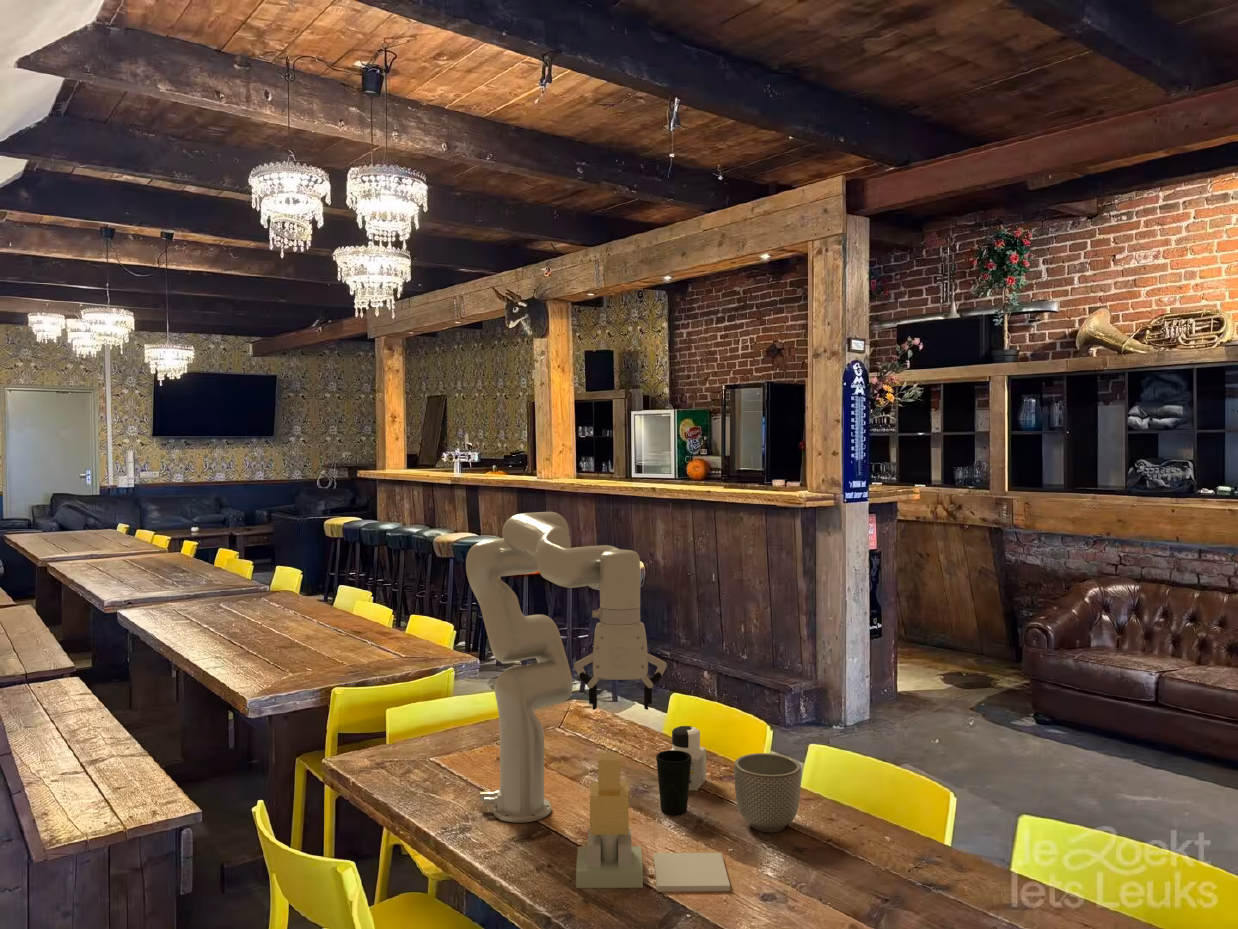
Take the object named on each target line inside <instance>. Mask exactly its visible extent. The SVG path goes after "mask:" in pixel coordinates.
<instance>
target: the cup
mask: <svg viewBox="0 0 1238 929" xmlns="http://www.w3.org/2000/svg"><path fill="white" fill-rule="evenodd" d="M655 758H656V768H657V769H656V770H657V779H658V792H659V801H660V811H662V812H663V813H664V814H663V813H662V812H661V813H662V814H663V815H665V814H666V815H665V816H669V815H670V816H671V817H680V816H683V814H684V815H685V814H686V813H687V812H688V801H689V791H690V790H689V780H690V769H691V758H692V757H691V755H690V754H689V753H687V752H684V751H678V750H671V749H669V750H663V751H660V752H658V753H657V754H656V757H655ZM686 811H687V812H686ZM679 815H680V816H679Z"/></svg>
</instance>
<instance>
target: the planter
mask: <svg viewBox="0 0 1238 929" xmlns="http://www.w3.org/2000/svg"><path fill="white" fill-rule="evenodd" d="M733 774H734V789H735V800H736V805H737V808H738V812H739V814H740V815H741V817H742V818H743V819H744V820H745V821H747V822H748V823H749V825H750V826H751V827H752V828H753V830H756V831H758V832H762V833H777V832H781V831H782V830H783V829H784V828H785V827H786V825H788V824H790V823H791V822H792V821H793V820H794V819H796V816H797V814H798V811H799V805H800V796H801V785H802V766H801V764H800V762H798V761H797V760H796V759H794V758H792V757H790V756H786V755H782V754H778V753H768V752H767V753H766V752H762V753H761V752H759V753H758V752H757V753H750V754H745V755H741V756H739V757H738V758H737V759H736V760H735V761H734V766H733Z"/></svg>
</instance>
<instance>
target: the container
mask: <svg viewBox="0 0 1238 929" xmlns="http://www.w3.org/2000/svg"><path fill="white" fill-rule="evenodd" d="M671 737H672V738H671V747H672V748H670V750H678V751H684V752H687V753H689V754H690V755H691V757H692V758H691V769H690V780H689V791H694V792H695V791H698V790H699V788H700V787H701V786H702V785H703V784H704V782H705V781H707V748H706V747H702V746H701V732H700V730H699V729H698V728H696V727H694V726H692V725H691V726H690V725H680V726H676V727H674V729H673V730H672V731H671Z"/></svg>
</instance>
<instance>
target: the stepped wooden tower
mask: <svg viewBox="0 0 1238 929" xmlns="http://www.w3.org/2000/svg"><path fill="white" fill-rule="evenodd" d="M597 758H598V759H597V764H598V765H597V773H598V775H597V780H598V781H590V791H589V829H590V835H623V834H629V829H630V827H629V824H630V823H629V822H630V821H629V818H630V817H629V816H630V813H629V812H630V811H629V810H630V809H629V807H630V804H629V803H630V802H629V800H630V798H629V796H630V795H629V783H628V781H621V753H620V752H598V757H597Z"/></svg>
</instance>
